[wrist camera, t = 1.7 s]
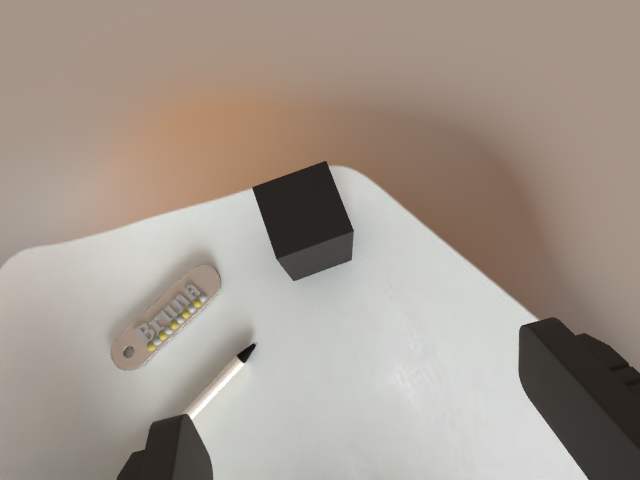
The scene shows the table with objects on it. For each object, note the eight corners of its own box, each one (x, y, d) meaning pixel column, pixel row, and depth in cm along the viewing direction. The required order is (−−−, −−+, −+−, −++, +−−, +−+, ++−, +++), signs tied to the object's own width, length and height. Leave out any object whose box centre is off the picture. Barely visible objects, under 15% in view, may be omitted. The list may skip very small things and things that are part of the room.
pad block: (330, 204, 37) (326, 160, 28) (351, 260, 36) (353, 231, 27) (274, 225, 37) (251, 186, 28) (293, 281, 36) (276, 259, 27)
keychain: (124, 379, 34) (101, 350, 34) (128, 378, 34) (105, 350, 35) (226, 282, 35) (202, 256, 36) (228, 283, 36) (204, 258, 36)
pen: (68, 534, 32) (58, 540, 31) (253, 338, 35) (250, 338, 34) (75, 543, 32) (66, 550, 31) (261, 346, 35) (259, 346, 33)
